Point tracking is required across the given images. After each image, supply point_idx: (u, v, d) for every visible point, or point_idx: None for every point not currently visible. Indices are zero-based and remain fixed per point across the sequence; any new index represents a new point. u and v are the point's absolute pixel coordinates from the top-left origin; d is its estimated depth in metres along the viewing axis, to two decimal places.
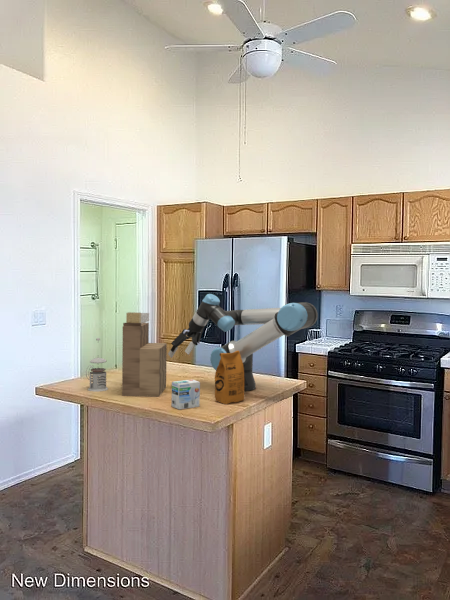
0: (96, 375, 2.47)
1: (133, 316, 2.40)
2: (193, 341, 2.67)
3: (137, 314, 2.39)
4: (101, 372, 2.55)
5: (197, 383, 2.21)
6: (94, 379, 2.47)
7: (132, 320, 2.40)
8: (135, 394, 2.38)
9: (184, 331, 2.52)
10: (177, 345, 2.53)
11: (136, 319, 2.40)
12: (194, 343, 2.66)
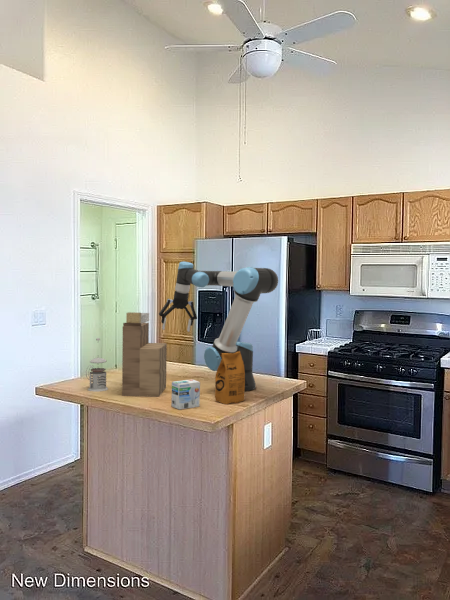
0: (96, 375, 2.47)
1: (133, 316, 2.40)
2: (190, 317, 2.76)
3: (137, 314, 2.39)
4: (101, 372, 2.55)
5: (197, 383, 2.21)
6: (94, 379, 2.47)
7: (132, 320, 2.40)
8: (135, 394, 2.38)
9: (167, 300, 2.70)
10: (163, 315, 2.70)
11: (136, 319, 2.40)
12: (191, 319, 2.75)
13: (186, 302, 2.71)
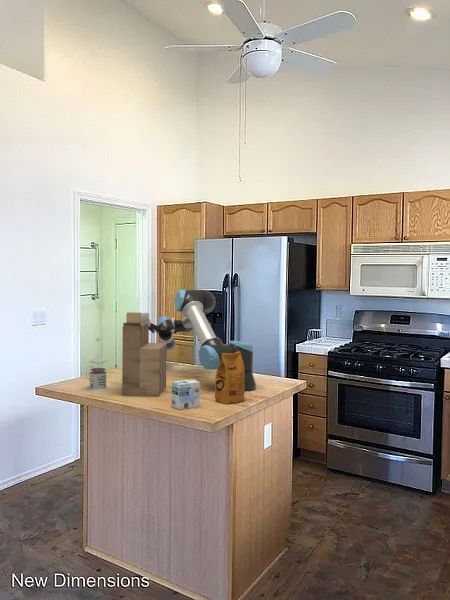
0: (96, 375, 2.47)
1: (133, 316, 2.40)
2: None
3: (137, 314, 2.39)
4: (101, 372, 2.55)
5: (197, 383, 2.21)
6: (94, 379, 2.47)
7: (132, 320, 2.40)
8: (135, 394, 2.38)
9: None
10: None
11: (136, 319, 2.40)
12: None
13: None
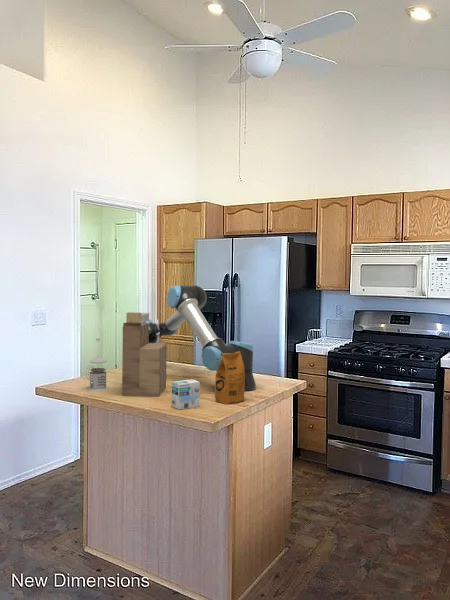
0: (96, 375, 2.47)
1: (133, 316, 2.40)
2: None
3: (137, 314, 2.39)
4: (101, 372, 2.55)
5: (197, 383, 2.21)
6: (94, 379, 2.47)
7: (132, 320, 2.40)
8: (135, 394, 2.38)
9: None
10: None
11: (136, 319, 2.40)
12: None
13: None
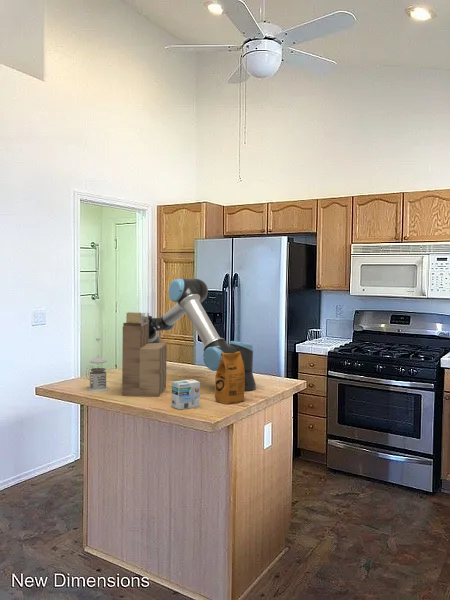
0: (96, 375, 2.47)
1: (133, 316, 2.40)
2: None
3: (137, 314, 2.39)
4: (101, 372, 2.55)
5: (197, 383, 2.21)
6: (94, 379, 2.47)
7: (132, 320, 2.40)
8: (135, 394, 2.38)
9: None
10: None
11: (136, 319, 2.40)
12: None
13: None
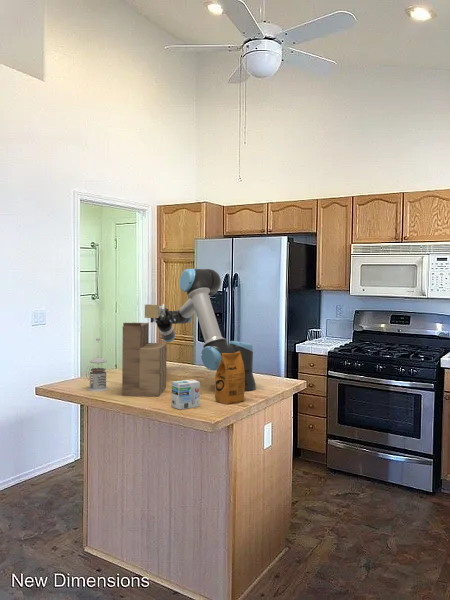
0: (96, 375, 2.47)
1: (151, 308, 2.39)
2: None
3: (155, 306, 2.39)
4: (101, 372, 2.55)
5: (197, 383, 2.21)
6: (94, 379, 2.47)
7: (150, 312, 2.39)
8: (135, 394, 2.38)
9: None
10: None
11: (154, 311, 2.39)
12: None
13: None
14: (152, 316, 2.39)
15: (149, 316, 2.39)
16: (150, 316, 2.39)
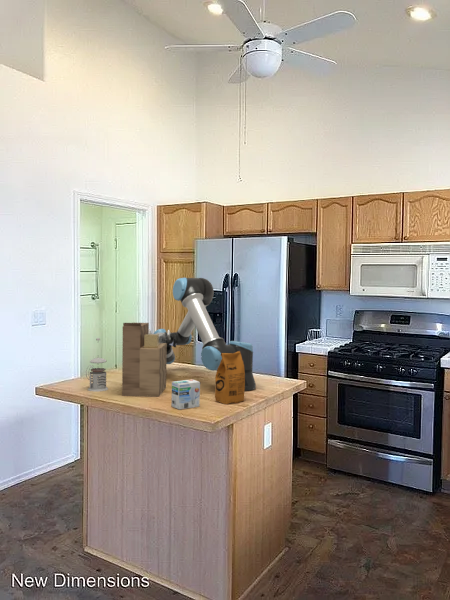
0: (96, 375, 2.47)
1: (151, 338, 2.40)
2: None
3: (155, 336, 2.39)
4: (101, 372, 2.55)
5: (197, 383, 2.21)
6: (94, 379, 2.47)
7: (150, 342, 2.40)
8: (135, 394, 2.38)
9: None
10: None
11: (154, 341, 2.40)
12: None
13: None
14: (152, 346, 2.40)
15: (149, 346, 2.40)
16: (150, 346, 2.40)
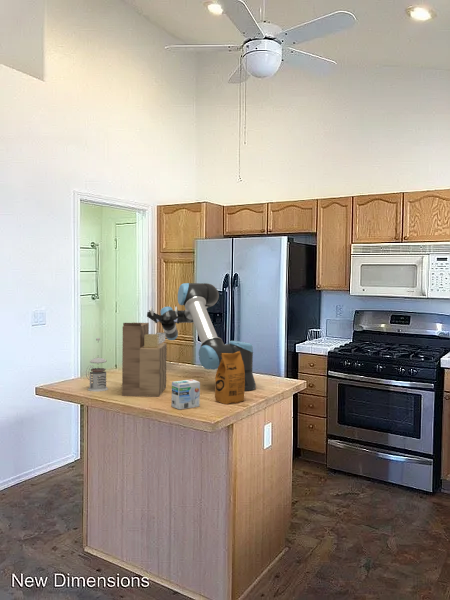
0: (96, 375, 2.47)
1: (151, 338, 2.40)
2: None
3: (155, 336, 2.39)
4: (101, 372, 2.55)
5: (197, 383, 2.21)
6: (94, 379, 2.47)
7: (150, 342, 2.40)
8: (135, 394, 2.38)
9: None
10: None
11: (154, 341, 2.40)
12: None
13: None
14: (152, 346, 2.40)
15: (149, 346, 2.40)
16: (150, 346, 2.40)
